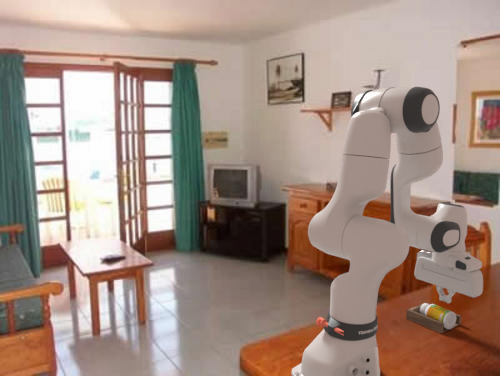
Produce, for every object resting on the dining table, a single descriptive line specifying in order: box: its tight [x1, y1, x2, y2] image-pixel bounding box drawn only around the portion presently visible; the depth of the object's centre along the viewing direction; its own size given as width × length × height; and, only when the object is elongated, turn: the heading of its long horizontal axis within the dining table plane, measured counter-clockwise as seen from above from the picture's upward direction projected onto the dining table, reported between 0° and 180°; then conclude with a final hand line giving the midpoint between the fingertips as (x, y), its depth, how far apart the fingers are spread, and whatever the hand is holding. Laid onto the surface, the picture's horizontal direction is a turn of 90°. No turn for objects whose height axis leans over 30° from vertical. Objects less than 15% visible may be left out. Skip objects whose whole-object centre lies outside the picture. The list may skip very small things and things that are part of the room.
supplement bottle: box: [420, 302, 457, 330], centre depth 137 cm, size 5×5×10 cm
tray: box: [405, 302, 462, 334], centre depth 139 cm, size 10×12×3 cm
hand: (445, 301), depth 135 cm, fingers closed
